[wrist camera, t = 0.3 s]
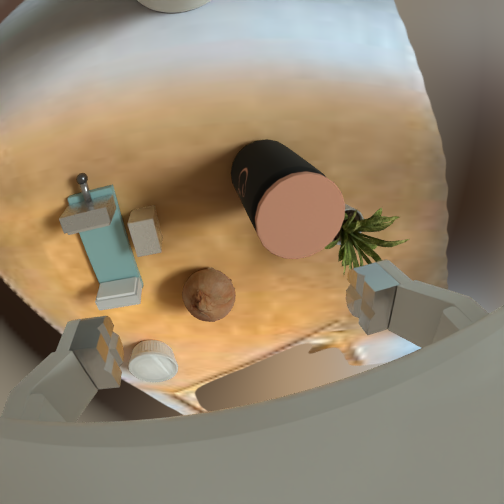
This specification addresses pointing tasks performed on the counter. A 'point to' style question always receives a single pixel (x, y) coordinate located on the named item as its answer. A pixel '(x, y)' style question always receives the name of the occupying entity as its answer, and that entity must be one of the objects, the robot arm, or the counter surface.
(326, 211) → the coffee jar
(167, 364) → the ramekin
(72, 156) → the counter surface
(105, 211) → the jaw
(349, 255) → the house plant
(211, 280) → the onion
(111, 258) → the vise
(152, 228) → the block
